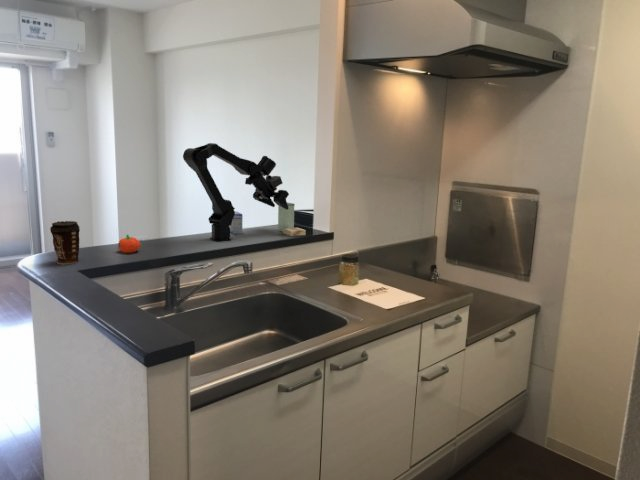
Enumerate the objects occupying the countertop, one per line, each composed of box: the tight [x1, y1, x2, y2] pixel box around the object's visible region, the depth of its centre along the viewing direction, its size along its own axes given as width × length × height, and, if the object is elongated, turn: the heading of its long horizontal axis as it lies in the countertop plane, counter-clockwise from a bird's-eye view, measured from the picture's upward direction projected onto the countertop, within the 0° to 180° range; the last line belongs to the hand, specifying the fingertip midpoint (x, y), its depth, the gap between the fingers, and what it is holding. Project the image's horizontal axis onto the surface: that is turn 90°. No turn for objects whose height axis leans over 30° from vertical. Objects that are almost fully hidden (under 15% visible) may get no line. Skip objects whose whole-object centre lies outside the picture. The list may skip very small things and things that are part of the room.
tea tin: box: [277, 202, 295, 232], centre depth 233 cm, size 5×5×12 cm
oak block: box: [282, 227, 306, 237], centre depth 226 cm, size 7×7×2 cm
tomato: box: [117, 234, 141, 254], centre depth 185 cm, size 7×8×6 cm
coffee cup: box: [49, 220, 81, 266], centre depth 168 cm, size 9×8×13 cm
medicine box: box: [229, 210, 244, 235], centre depth 226 cm, size 8×4×9 cm, turn 25°
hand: (280, 207), depth 230 cm, fingers open, 9 cm apart
